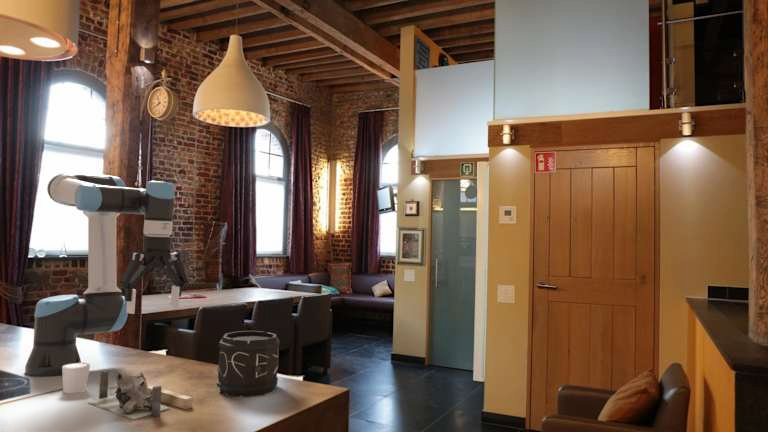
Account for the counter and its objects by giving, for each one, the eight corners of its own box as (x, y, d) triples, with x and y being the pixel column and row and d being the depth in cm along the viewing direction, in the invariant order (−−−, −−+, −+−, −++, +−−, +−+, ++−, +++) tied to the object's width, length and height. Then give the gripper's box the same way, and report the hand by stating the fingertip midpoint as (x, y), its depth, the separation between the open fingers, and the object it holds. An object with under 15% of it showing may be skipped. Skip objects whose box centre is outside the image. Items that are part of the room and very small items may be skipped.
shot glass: (94, 388, 155) (95, 363, 155) (73, 395, 148) (74, 369, 148) (76, 385, 157) (77, 361, 157) (54, 391, 150) (56, 366, 151)
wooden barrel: (222, 401, 147) (225, 343, 148) (210, 384, 163) (213, 331, 164) (286, 394, 155) (289, 339, 156) (269, 379, 171) (272, 329, 172)
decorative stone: (166, 406, 138) (158, 368, 137) (130, 422, 131) (121, 383, 130) (142, 394, 149) (134, 359, 148) (107, 408, 143) (99, 372, 142)
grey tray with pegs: (81, 401, 143) (83, 374, 143) (132, 389, 155) (133, 364, 156) (140, 422, 129) (142, 392, 129) (191, 407, 141) (193, 380, 142)
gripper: (122, 235, 142) (117, 317, 141) (203, 237, 162) (198, 308, 162) (107, 234, 146) (102, 313, 146) (187, 235, 167) (183, 305, 166)
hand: (153, 310), depth 154 cm, fingers open, 13 cm apart
